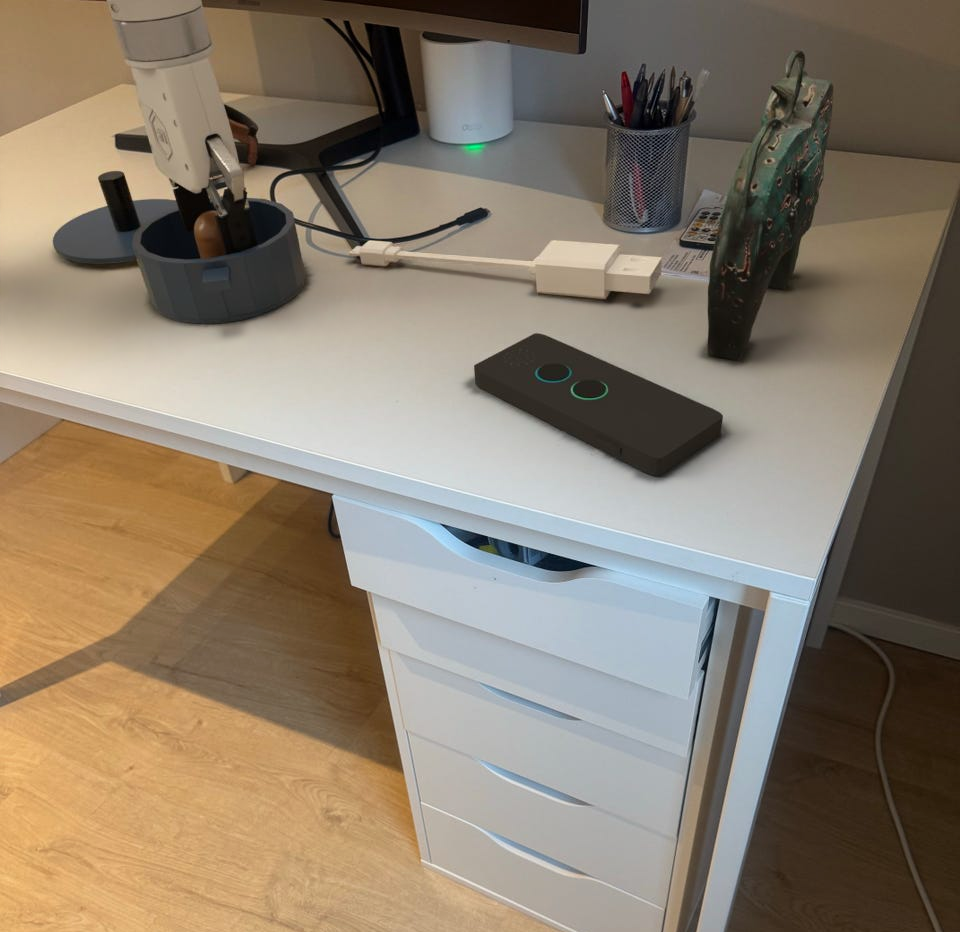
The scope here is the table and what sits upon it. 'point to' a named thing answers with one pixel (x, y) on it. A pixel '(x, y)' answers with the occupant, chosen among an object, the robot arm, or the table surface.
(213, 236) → the brown domed cylinder
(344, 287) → the table surface
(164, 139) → the robot arm
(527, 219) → the table surface
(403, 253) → the charging cable
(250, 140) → the orange-brown curved ring piece
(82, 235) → the lid
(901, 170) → the table surface
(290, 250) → the pot
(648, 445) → the smart home device
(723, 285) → the dark green sculpted piece
